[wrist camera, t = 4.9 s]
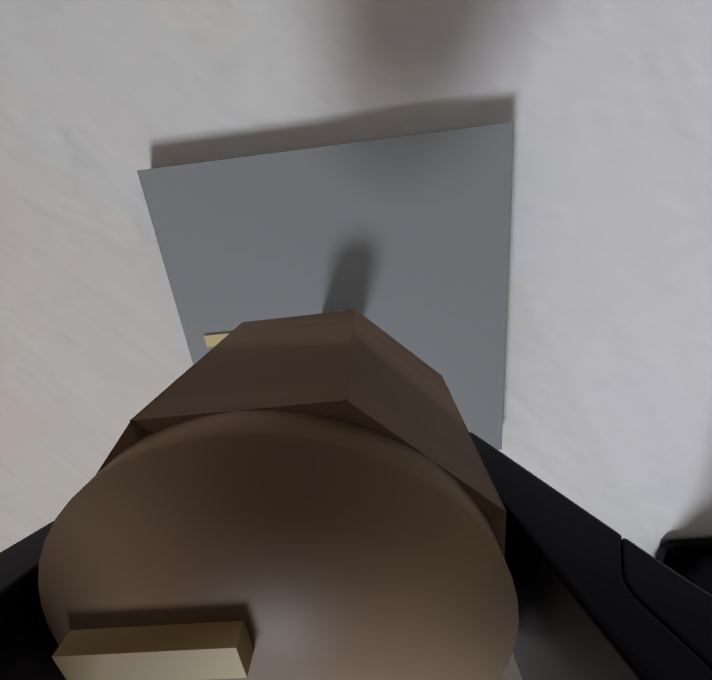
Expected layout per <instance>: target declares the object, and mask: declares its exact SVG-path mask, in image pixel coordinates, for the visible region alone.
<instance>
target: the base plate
mask: <svg viewBox="0 0 712 680" xmlns="http://www.w3.org/2000/svg"><path fill="white" fill-rule="evenodd" d="M513 127H514V122H508V123H501V124H493V125H485V126H477V127H470V128H462V129H454V130H446V131H439V132H431V133H423V134H416V135H408V136H400V137H392V138H385V139H377V140H369V141H362V142H354V143H346V144H338V145H331V146H323V147H315V148H308V149H300V150H292V151H284V152H277V153H269V154H261V155H254V156H246V157H238V158H230V159H223V160H215V161H207V162H200V163H192V164H184V165H176V166H169V167H161V168H153V169H146V170H138V171H137V172H138V176H139V179H140V182H141V186H142V189H143V193H144V196H145V200H146V203H147V206H148V210H149V213H150V217H151V220H152V224H153V227H154V230H155V234H156V237H157V241H158V244H159V248H160V251H161V254H162V258H163V261H164V265H165V268H166V272H167V275H168V279H169V282H170V285H171V289H172V292H173V296H174V299H175V303H176V306H177V309H178V313H179V316H180V320H181V323H182V327H183V330H184V333H185V337H186V340H187V344H188V347H189V351H190V354H191V358H192V361H193V364H195V363H196V362H198V361H199V360H200V359H201V358H202V357H203V356H204V355H206V354H207V353H208V352H209V351H210V350H211V349H212V348H214V347H215V346H216V345H217V344H218V343H219V342H220V341H222V340H223V339H224V338H225V337H226V336H227V335H228V334H230V333H231V332H232V331H233V330H234V329H235V328H236V327H238V326H239V325H240V324H241V323H242V322H249V321H258V320H267V319H276V318H285V317H294V316H303V315H312V314H320V313H329V312H338V311H347V310H355V309H356V310H357V311H358V312H360V313H361V314H362V315H363V316H365V317H366V318H367V319H369V320H370V321H371V322H373V323H374V324H375V325H376V326H378V327H379V328H380V329H382V330H383V331H384V332H386V333H387V334H388V335H390V336H391V337H392V338H393V339H395V340H396V341H397V342H399V343H400V344H401V345H403V346H404V347H405V348H406V349H408V350H409V351H410V352H412V353H413V354H414V355H416V356H417V357H418V358H420V359H421V360H422V361H423V362H425V363H426V364H427V365H429V366H430V367H431V368H433V369H434V370H435V371H436V372H438V373H439V374H440V375H442V377H443V379H444V381H445V383H446V385H447V387H448V389H449V391H450V394H451V396H452V398H453V400H454V402H455V404H456V406H457V408H458V410H459V412H460V415H461V417H462V419H463V421H464V423H465V425H466V427H467V429H468V431H469V432H472V433H474V434H475V435H477V436H478V437H480V438H481V439H483V440H484V441H485V442H487V443H488V444H490V445H491V446H493V447H494V448H496V449H497V450H498V449H502V423H503V396H504V369H505V342H506V315H507V288H508V261H509V234H510V207H511V180H512V154H513Z"/></svg>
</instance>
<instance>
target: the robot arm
mask: <svg viewBox="0 0 712 680" xmlns="http://www.w3.org/2000/svg"><path fill="white" fill-rule="evenodd" d="M469 434H470V436H471V438H472V440H473V442H474V444H475V446H476V448H477V450H478V452H479V455H480V457H481V459H482V461H483V463H484V465H485V467H486V469H487V471H488V473H489V476H490V478H491V480H492V482H493V484H494V486H495V488H496V490H497V492H498V494H499V497H500V499H501V501H502V503H503V505H504V507H505V509H506V511H507V513H506V532H505V561H506V564H507V566H508V568H509V571H510V573H511V576H512V579H513V583H514V587H515V591H516V595H517V599H518V615H519V624H518V630H517V637H516V643H515V646H514V649H513V651H512V652H513V655H514V657H515V660H516V663H517V665H518V668H519V671H520V673H521V676H522V679H523V680H712V538H710V539H692V540H674V541H667V542H665V543H663V544H662V545H661V548H660V552H659V556H658V560H657V559H655V558H654V557H652V556H651V555H649V554H648V553H647V552H645V551H644V550H642V549H641V548H639V547H638V546H636V545H635V544H633V543H632V542H631V541H629V540H628V539H626V538H623V539H622V537H621V535H620V534H619V533H617V532H616V531H614V530H613V529H611V528H610V527H609V526H607V525H606V524H604V523H603V522H601V521H600V520H598V519H597V518H596V517H594V516H593V515H591V514H590V513H588V512H587V511H585V510H584V509H583V508H581V507H580V506H578V505H577V504H575V503H574V502H572V501H571V500H569V499H568V498H567V497H565V496H564V495H562V494H561V493H559V492H558V491H556V490H555V489H554V488H552V487H551V486H549V485H548V484H546V483H545V482H543V481H542V480H541V479H539V478H538V477H536V476H535V475H533V474H532V473H530V472H529V471H527V470H526V469H525V468H523V467H522V466H520V465H519V464H517V463H516V462H514V461H513V460H512V459H510V458H509V457H507V456H506V455H504V454H503V453H501V452H500V451H499V450H497V449H496V448H494V447H493V446H491V445H490V444H488V443H487V442H485V441H484V440H483V439H481V438H480V437H478V436H477V435H475V434H474V433H472V432H469ZM53 523H54V521H53V522H51V523H50V524H48V525H46V526H44V527H43V528H41V529H39V530H38V531H36V532H34V533H33V534H31V535H29V536H28V537H26V538H24V539H22V540H21V541H19V542H17V543H16V544H14V545H12V546H11V547H9V548H7V549H6V550H4V551H2V552H1V553H0V680H66V678H65V677H64V675H63V674H62V672H61V671H60V669H59V668H58V666H57V664H56V663H55V661H54V660H53V658H52V655H53V654H54V653H55V651H56V650H57V648H58V647H59V645H58V644H57V642H56V640H55V638H54V636H53V634H52V632H51V630H50V629H49V627H48V624H47V621H46V618H45V615H44V612H43V609H42V607H41V601H40V595H39V588H38V572H39V560H40V557H41V553H42V549H43V545H44V541H45V539H46V537H47V535H48V533H49V531H50V529H51V527H52V525H53Z"/></svg>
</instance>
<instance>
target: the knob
mask: <svg viewBox="0 0 712 680" xmlns="http://www.w3.org/2000/svg"><path fill="white" fill-rule="evenodd" d="M506 513H507V511H506V509H505V507H504V505H503V503H502V501H501V499H500V497H499V494H498V492H497V490H496V488H495V486H494V484H493V482H492V480H491V478H490V476H489V473H488V471H487V469H486V467H485V465H484V463H483V461H482V459H481V457H480V455H479V452H478V450H477V448H476V446H475V444H474V442H473V440H472V438H471V436H470V434H469V431H468V429H467V427H466V425H465V423H464V421H463V419H462V417H461V415H460V412H459V410H458V408H457V406H456V404H455V402H454V400H453V398H452V396H451V394H450V391H449V389H448V387H447V385H446V383H445V381H444V379H443V377H442V375H440V374H439V373H438V372H436V371H435V370H434V369H433V368H431V367H430V366H429V365H427V364H426V363H425V362H423V361H422V360H421V359H420V358H418V357H417V356H416V355H414V354H413V353H412V352H410V351H409V350H408V349H406V348H405V347H404V346H403V345H401V344H400V343H399V342H397V341H396V340H395V339H393V338H392V337H391V336H390V335H388V334H387V333H386V332H384V331H383V330H382V329H380V328H379V327H378V326H376V325H375V324H374V323H373V322H371V321H370V320H369V319H367V318H366V317H365V316H363V315H362V314H361V313H360V312H358V311H357V310H356V309H355V310H347V311H338V312H329V313H320V314H312V315H303V316H294V317H285V318H276V319H267V320H258V321H249V322H242V323H241V324H240V325H239V326H238V327H236V328H235V329H234V330H233V331H232V332H231V333H230V334H228V335H227V336H226V337H225V338H224V339H223V340H222V341H220V342H219V343H218V344H217V345H216V346H215V347H214V348H212V349H211V350H210V351H209V352H208V353H207V354H206V355H204V356H203V357H202V358H201V359H200V360H199V361H198V362H196V363H195V364H194V365H193V366H192V367H191V368H189V369H188V370H187V371H186V372H185V373H184V374H183V375H181V376H180V377H179V378H178V379H177V380H176V381H175V382H173V383H172V384H171V385H170V386H169V387H168V388H167V389H165V390H164V391H163V392H162V393H161V394H160V395H159V396H157V397H156V398H155V399H154V400H153V401H152V402H151V403H149V404H148V405H147V406H146V407H145V408H144V409H143V410H141V411H140V412H139V413H138V414H137V415H136V416H135V417H133V418H132V419H131V420H130V423H129V425H128V426H127V428H126V429H125V431H124V432H123V434H122V435H121V437H120V439H119V440H118V442H117V443H116V445H115V446H114V448H113V449H112V451H111V452H110V454H109V456H108V457H107V459H106V460H105V462H104V463H103V465H102V466H101V468H100V469H99V471H98V473H97V474H96V476H95V477H93V478H92V479H91V480H90V481H89V482H88V483H87V484H86V485H85V486H84V487H83V488H82V489H81V490H80V491H79V492H78V493H77V494H76V495H75V496H74V497H73V498H72V499H71V500H70V501H69V502H68V504H67V505H66V506H65V508H64V509H63V510H62V511H61V513H60V514H59V515H58V517H57V518H56V519H55V521H54V523H53V525H52V527H51V529H50V531H49V533H48V535H47V537H46V539H45V541H44V545H43V549H42V553H41V557H40V560H39V572H38V588H39V595H40V601H41V607H42V609H43V612H44V615H45V618H46V621H47V624H48V627H49V629H50V630H51V632H52V634H53V636H54V638H55V640H56V642H57V644H58V645H59V647H58V648H57V650H56V651H55V653H54V654H53V655H52V658H53V660H54V661H55V663H56V664H57V666H58V668H59V669H60V671H61V672H62V674H63V675H64V677H65V678H66V680H498V679H499V678H500V676H501V674H502V673H503V671H504V669H505V667H506V666H507V664H508V662H509V660H510V657H511V654H512V651H513V649H514V646H515V643H516V637H517V630H518V624H519V615H518V599H517V595H516V591H515V587H514V583H513V579H512V576H511V573H510V571H509V568H508V566H507V564H506V561H505V532H506Z"/></svg>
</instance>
